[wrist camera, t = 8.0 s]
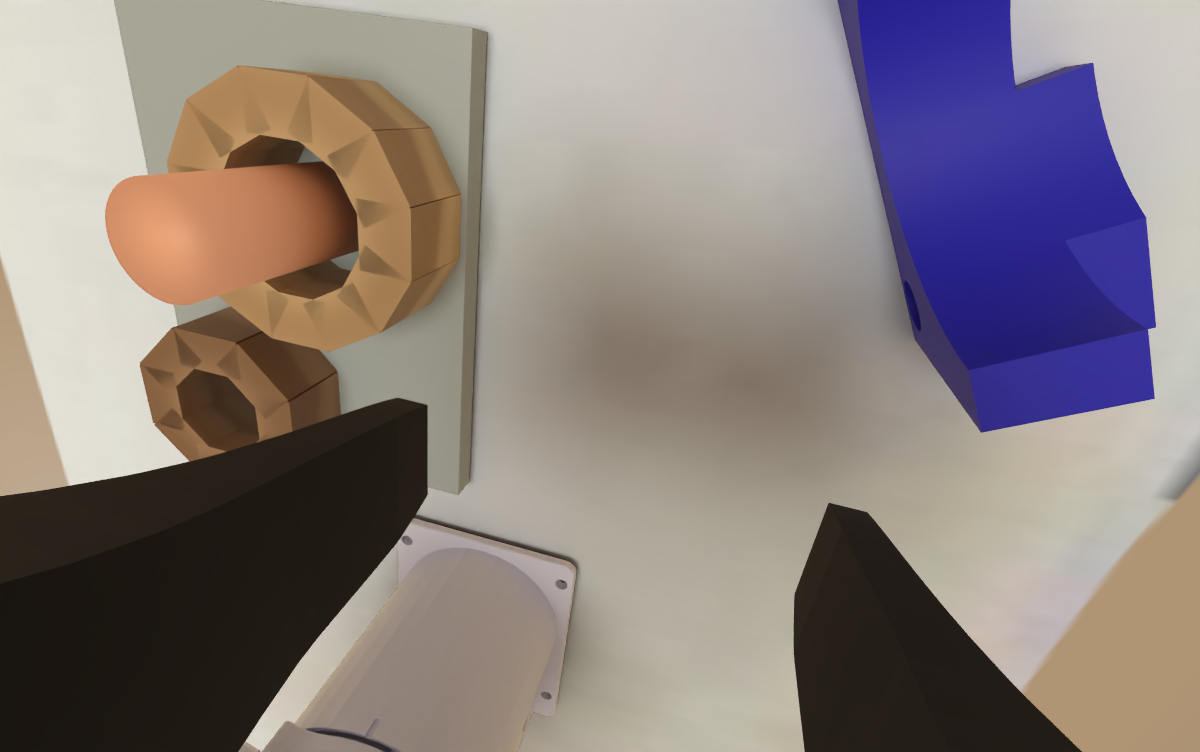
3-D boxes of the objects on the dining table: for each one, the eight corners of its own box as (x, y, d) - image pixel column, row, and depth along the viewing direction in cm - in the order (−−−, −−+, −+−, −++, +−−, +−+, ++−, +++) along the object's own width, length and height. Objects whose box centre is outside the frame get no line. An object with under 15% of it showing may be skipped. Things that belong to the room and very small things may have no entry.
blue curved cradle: (1090, 292, 16) (1254, 379, 11) (913, 337, 18) (980, 432, 13) (1025, -221, 13) (1221, -463, 7) (811, -108, 14) (846, -240, 9)
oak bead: (457, 337, 20) (412, 371, 18) (265, 294, 21) (195, 320, 19) (463, 95, 17) (409, 91, 14) (235, 60, 18) (146, 51, 15)
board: (469, 480, 24) (458, 495, 23) (216, 414, 26) (197, 425, 25) (487, 32, 17) (472, 27, 16) (140, -14, 19) (110, -20, 18)
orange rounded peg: (393, 253, 19) (226, 314, 13) (318, 241, 20) (121, 294, 14) (389, 165, 18) (205, 184, 12) (309, 154, 19) (91, 168, 12)
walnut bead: (344, 464, 24) (300, 502, 22) (217, 430, 25) (163, 462, 23) (334, 327, 21) (283, 354, 19) (193, 295, 22) (128, 316, 20)
